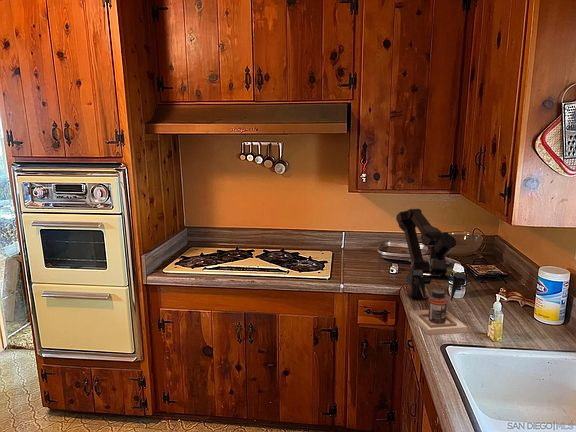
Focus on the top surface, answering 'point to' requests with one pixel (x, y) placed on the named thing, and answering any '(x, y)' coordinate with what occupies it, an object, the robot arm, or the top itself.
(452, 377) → the top surface
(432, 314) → the supplement bottle
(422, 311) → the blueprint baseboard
